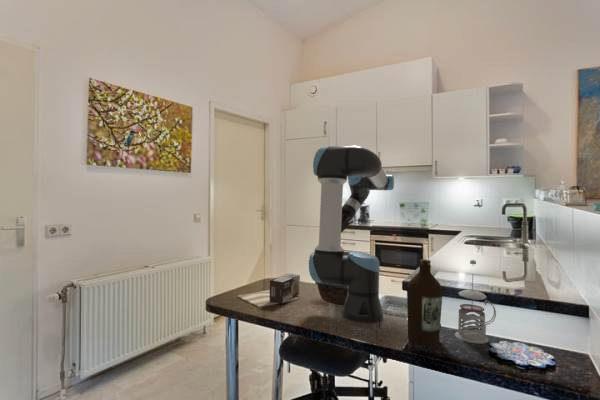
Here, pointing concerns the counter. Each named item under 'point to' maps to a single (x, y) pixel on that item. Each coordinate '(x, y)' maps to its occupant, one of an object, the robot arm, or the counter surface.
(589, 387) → the counter surface
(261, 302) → the board
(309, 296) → the counter surface
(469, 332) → the french press
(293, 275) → the coffee box
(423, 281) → the olive oil
